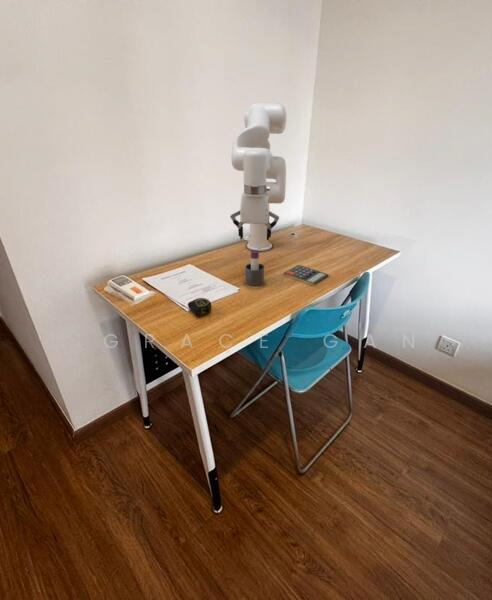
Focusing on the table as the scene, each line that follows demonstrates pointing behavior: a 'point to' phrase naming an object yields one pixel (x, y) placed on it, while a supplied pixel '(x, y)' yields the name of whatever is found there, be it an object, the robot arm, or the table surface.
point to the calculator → (306, 274)
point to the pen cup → (254, 276)
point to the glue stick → (254, 260)
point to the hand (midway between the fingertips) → (254, 238)
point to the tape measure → (200, 306)
